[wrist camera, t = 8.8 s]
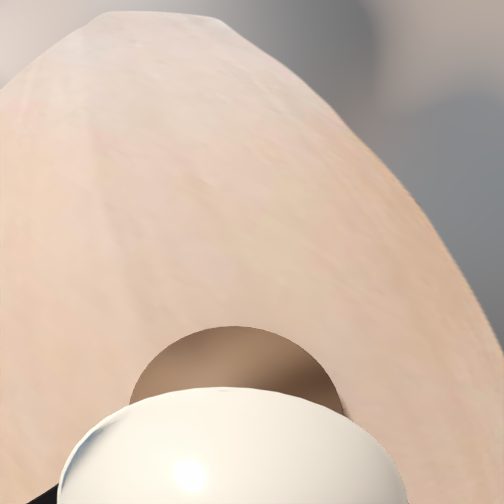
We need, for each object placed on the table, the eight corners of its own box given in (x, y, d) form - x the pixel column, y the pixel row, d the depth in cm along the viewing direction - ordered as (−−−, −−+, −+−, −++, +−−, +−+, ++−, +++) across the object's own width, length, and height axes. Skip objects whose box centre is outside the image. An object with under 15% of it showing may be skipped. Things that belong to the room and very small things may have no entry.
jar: (292, 471, 13) (407, 598, 2) (193, 485, 12) (114, 631, 1) (275, 382, 15) (384, 350, 4) (177, 395, 14) (31, 389, 3)
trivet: (363, 447, 17) (378, 453, 15) (202, 534, 13) (198, 548, 11) (269, 300, 21) (273, 289, 19) (108, 383, 18) (93, 381, 16)
